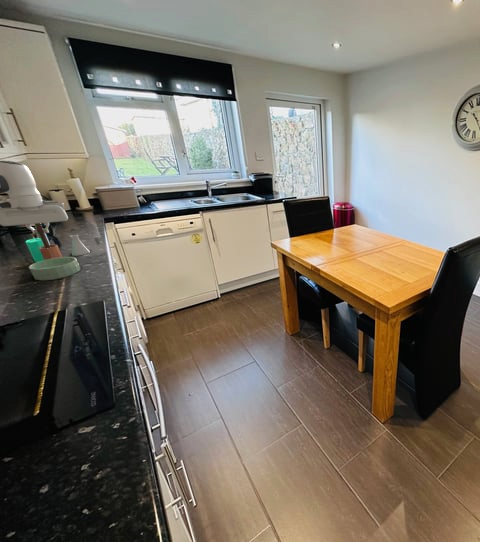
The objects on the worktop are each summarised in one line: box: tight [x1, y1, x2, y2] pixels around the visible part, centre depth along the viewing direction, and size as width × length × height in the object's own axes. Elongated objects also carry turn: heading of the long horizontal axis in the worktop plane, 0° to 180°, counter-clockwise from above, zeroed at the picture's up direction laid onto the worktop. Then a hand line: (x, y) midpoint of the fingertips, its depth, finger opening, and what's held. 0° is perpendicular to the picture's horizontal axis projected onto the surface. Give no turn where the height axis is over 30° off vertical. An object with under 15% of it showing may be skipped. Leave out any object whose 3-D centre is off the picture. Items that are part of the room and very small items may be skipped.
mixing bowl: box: [28, 256, 81, 281], centre depth 121 cm, size 14×14×6 cm
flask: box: [69, 234, 91, 256], centre depth 142 cm, size 7×7×10 cm
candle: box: [25, 236, 44, 263], centre depth 133 cm, size 6×6×12 cm
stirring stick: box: [34, 223, 51, 248], centre depth 126 cm, size 3×2×16 cm
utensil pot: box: [39, 244, 63, 260], centre depth 129 cm, size 6×6×9 cm
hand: (41, 233), depth 125 cm, fingers closed on stirring stick, 2 cm apart
